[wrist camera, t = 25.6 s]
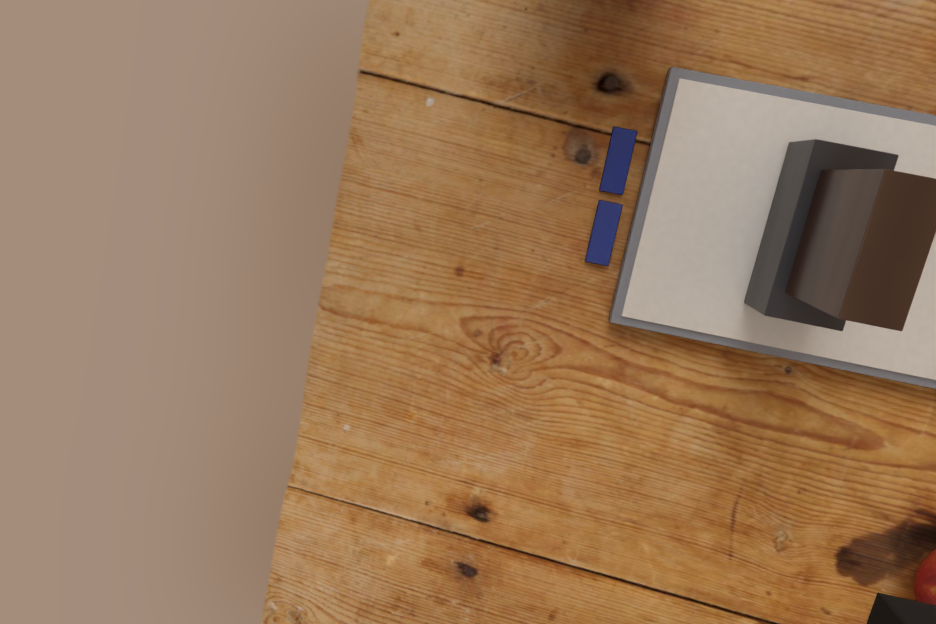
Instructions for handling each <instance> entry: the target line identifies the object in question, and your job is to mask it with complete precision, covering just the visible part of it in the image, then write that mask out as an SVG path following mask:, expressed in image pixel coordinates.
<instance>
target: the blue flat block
mask: <svg viewBox="0 0 936 624" xmlns="http://www.w3.org/2000/svg"><path fill="white" fill-rule="evenodd" d="M636 135H637V131H635V130H630V129H624V128H619V127H613V130H612V135H611V139H610V144H609V148H608V153H607V157H606V162H605V166H604V171H603V175H602V180H601V184H600V189H599V190H600V191H605V192H610V193H615V194H620V195H623V192H624V188H625V183H626V179H627V174H628V170H629V166H630V161H631V157H632V153H633V148H634V144H635V140H636Z"/></svg>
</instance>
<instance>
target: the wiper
mask: <svg viewBox="0 0 936 624" xmlns="http://www.w3.org/2000/svg"><path fill="white" fill-rule="evenodd" d="M898 156H899V155H897V154H892V153H887V152H882V151H876V150H871V149H866V148H861V147H855V146H850V145H845V144H839V143H834V142H829V141H824V140H818V139H813V140H804V141H795V142H789V145H788V148H787V152H786V155H785V159H784V162H783V166H782V169H781V173H780V176H779V180H778V183H777V187H776V190H775V194H774V197H773V201H772V205H771V208H770V212H769V215H768V219H767V222H766V226H765V229H764V233H763V236H762V240H761V243H760V247H759V250H758V254H757V257H756V261H755V264H754V268H753V271H752V275H751V278H750V282H749V286H748V289H747V293H746V296H745V300H744V303H745V304H747V305H748V306H750V307H752V308H753V309H755V310H757V311H758V312H760V313H761V314H763V315H765V316H769V317H774V318H779V319H784V320H789V321H794V322H798V323H803V324H808V325H813V326H818V327H823V328H828V329H833V330H838V331H843V329H844V326H845V323H846V320H847V321H852V322H857V323H862V324H867V325H872V326H877V327H882V328H887V329H892V330H897V331H903V328H904V325H905V322H906V319H907V316H908V313H909V310H910V307H911V304H912V301H913V298H914V295H915V292H916V289H917V286H918V283H919V281H920V278H921V275H922V272H923V269H924V266H925V263H926V260H927V257H928V254H929V251H930V248H931V245H932V242H933V239H934V236H935V233H936V179H935V178H930V177H925V176H919V175H914V174H909V173H904V172H899V171H894V169H895V166H896V163H897V160H898Z"/></svg>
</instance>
